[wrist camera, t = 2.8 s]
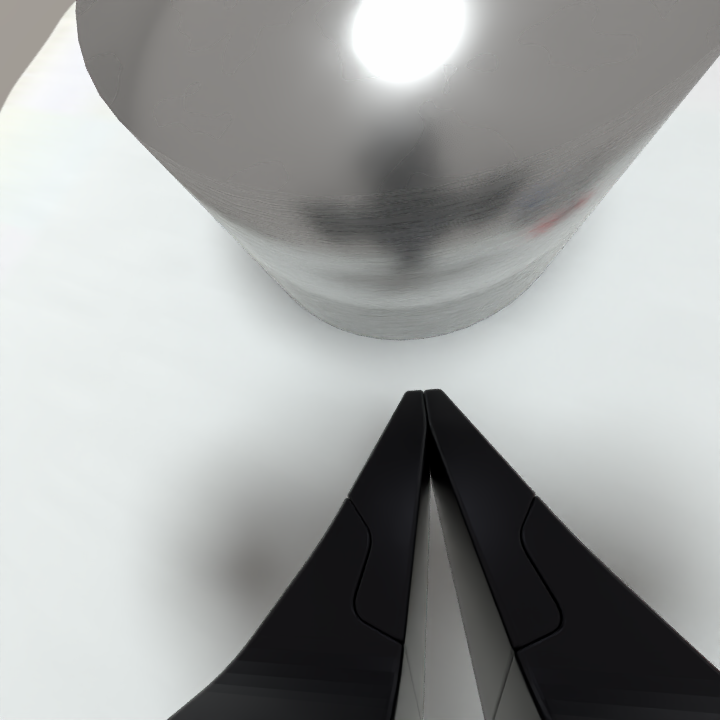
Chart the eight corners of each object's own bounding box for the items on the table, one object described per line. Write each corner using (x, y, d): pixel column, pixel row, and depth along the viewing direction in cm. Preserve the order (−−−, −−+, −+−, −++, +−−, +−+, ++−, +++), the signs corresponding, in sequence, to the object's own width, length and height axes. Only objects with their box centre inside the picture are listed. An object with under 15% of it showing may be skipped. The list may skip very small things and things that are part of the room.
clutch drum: (466, 405, 14) (611, 341, 4) (206, 253, 18) (-90, 10, 8) (634, 119, 15) (1112, -558, 5) (357, 36, 19) (285, -433, 9)
